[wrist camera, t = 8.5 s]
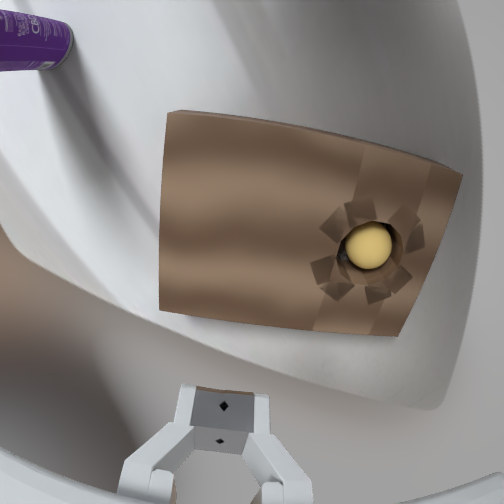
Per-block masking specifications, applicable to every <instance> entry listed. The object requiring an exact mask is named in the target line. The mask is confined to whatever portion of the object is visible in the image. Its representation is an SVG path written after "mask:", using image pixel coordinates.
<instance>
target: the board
mask: <svg viewBox="0 0 504 504" xmlns="http://www.w3.org/2000/svg"><path fill="white" fill-rule="evenodd" d="M462 176H463V175H462V174H460V173H458V172H456V171H454V170H452V169H450V168H448V167H446V166H444V165H442V164H440V163H438V162H435V161H432V160H429V159H426V158H423V157H420V156H417V155H414V154H410V153H407V152H404V151H400V150H397V149H394V148H390V147H387V146H383V145H380V144H376V143H372V142H368V141H364V140H361V139H357V138H353V137H348V136H344V135H340V134H336V133H331V132H327V131H322V130H317V129H313V128H308V127H303V126H298V125H292V124H287V123H281V122H275V121H269V120H263V119H256V118H250V117H243V116H235V115H227V114H219V113H210V112H200V111H189V110H178V111H174V112H169V113H167V123H166V133H165V144H164V156H163V169H162V185H161V204H160V230H159V310H161V311H166V312H172V313H178V314H185V315H191V316H197V317H204V318H211V319H218V320H225V321H232V322H240V323H247V324H255V325H264V326H272V327H281V328H291V329H300V330H311V331H322V332H334V333H347V334H361V335H377V336H396V337H398V335H399V333H400V331H401V329H402V327H403V325H404V323H405V321H406V319H407V317H408V315H409V313H410V311H411V309H412V307H413V305H414V303H415V301H416V299H417V296H418V294H419V292H420V290H421V288H422V286H423V283H424V281H425V279H426V276H427V274H428V272H429V269H430V267H431V265H432V262H433V260H434V257H435V255H436V252H437V250H438V247H439V245H440V242H441V240H442V237H443V234H444V231H445V229H446V226H447V223H448V220H449V217H450V215H451V212H452V209H453V206H454V203H455V199H456V196H457V193H458V190H459V187H460V183H461V180H462ZM370 221H378V222H383V223H385V224H386V229H387V231H388V232H389V234H390V237H391V240H392V249H391V253H390V255H389V257H388V259H387V260H386V261H385V262H384V263H383V264H382V265H380V266H379V267H376V268H373V269H364V268H361V267H358V266H357V265H355V264H354V263H353V262H352V261H350V260H343V259H340V258H339V257H338V256H337V253H338V249H339V246H340V242H341V240H342V239H343V238H344V237H345V236H346V235H347V234H348V233H349V232H350V231H351V230H352V229H353V228H354V227H355V226H358V225H361V224H364V223H367V222H370Z"/></svg>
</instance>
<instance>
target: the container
mask: <svg viewBox="0 0 504 504" xmlns="http://www.w3.org/2000/svg"><path fill="white" fill-rule="evenodd" d="M72 43H73V33H72V30H71V28H70V26H69V25H68V24H66V23H64V22H61V21H57V20H52V19H48V18H44V17H39V16H34V15H29V14H24V13H19V12H13V11H7V10H0V71H18V70H49V69H53V68H55V67H57V66H59V65H60V64H61V63H62V62H63V61H64V60H65V59H66V57H67V56H68V54H69V52H70V50H71V47H72Z"/></svg>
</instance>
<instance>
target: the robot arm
mask: <svg viewBox="0 0 504 504" xmlns="http://www.w3.org/2000/svg"><path fill="white" fill-rule="evenodd" d="M269 403H270V402H269V395H268V394H259V393H252V392H241V391H230V390H219V389H212V388H206V387H199V386H194V385H188V384H182V386H181V389H180V393H179V398H178V403H177V408H176V413H175V418H174V423H172V422H169V423H168V424H167V425H165V426H164V427H163V428H162V429H161V430H160V431H159V432H157V433H156V434H155V435H154V436H153V437H152V438H151V439H149V440H148V441H147V442H146V443H145V444H144V445H143V446H141V447H140V448H139V449H138V450H137V451H135V452H134V453H133V454H132V455H131V456H129V457H128V458H127V459H126V460H125V462H124V466H123V470H122V474H121V478H120V481H119V485H118V489H117V493H116V494H115V493H111V492H108V491H105V490H101V489H98V488H95V487H92V486H89V485H86V484H83V483H80V482H78V481H75V480H72V479H69V478H67V477H64V476H62V475H59V474H57V473H54V472H52V471H49V470H47V469H45V468H43V467H40V466H38V465H36V464H34V463H31V462H29V461H27V460H25V459H23V458H21V457H19V456H17V455H15V454H13V453H11V452H9V451H7V450H6V449H4V448H2V447H0V504H176V499H177V492H176V486H175V480H174V476H173V473H174V472H175V471H176V470H177V468H179V467H180V465H181V464H182V463H183V462H184V461H185V460H186V459H187V458H188V457H189V455H191V453H192V452H193V451H194V449H197V450H206V451H216V452H224V453H232V454H241V455H242V457H243V459H244V461H245V462H246V464H247V466H248V467H249V469H250V470H251V472H252V474H253V475H254V477H255V478H256V480H257V482H258V484H259V485H260V487H261V488H260V489H259V491H258V493H257V494H256V495H255V497H254V498H253V500H252V502H251V504H313V492H312V482H311V480H310V479H309V478H308V476H307V475H306V474H305V473H304V472H303V470H302V469H301V468H300V467H299V465H298V464H297V463H296V461H295V460H294V459H293V458H292V456H291V455H290V454H289V453H288V451H287V450H286V449H285V448H284V446H283V445H282V443H281V442H280V441H279V440H278V438H277V437H276V436H275V435H274V434H270V404H269ZM396 504H504V474H503V473H501V472H496V473H492V474H490V475H487V476H485V477H482V478H480V479H477V480H475V481H472V482H469V483H467V484H464V485H461V486H458V487H455V488H452V489H449V490H445V491H442V492H439V493H436V494H432V495H428V496H425V497H421V498H417V499H413V500H409V501H405V502H400V503H396Z"/></svg>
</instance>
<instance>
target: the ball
mask: <svg viewBox="0 0 504 504" xmlns="http://www.w3.org/2000/svg"><path fill="white" fill-rule="evenodd" d="M345 249H346V253H347V255H348V257H349V259H350V260H351V261H352V262H353V263H354V264H355V265H357V266H358V267H361V268H364V269H373V268H376V267H379V266H380V265H382V264H383V263H384V262H385V261H386V260H387V259H388V257H389V255H390V253H391V249H392V240H391V237H390V234H389V232H388V231H387V229H386V228H385V227H384V226H383V225H381V224H380V223H378V222H375V221H370V222H367V223H364V224H361V225H358V226H355V227H354V228H353V229H352V230H351V231H350V232H349V233H348V234H347V236H346V240H345Z"/></svg>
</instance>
